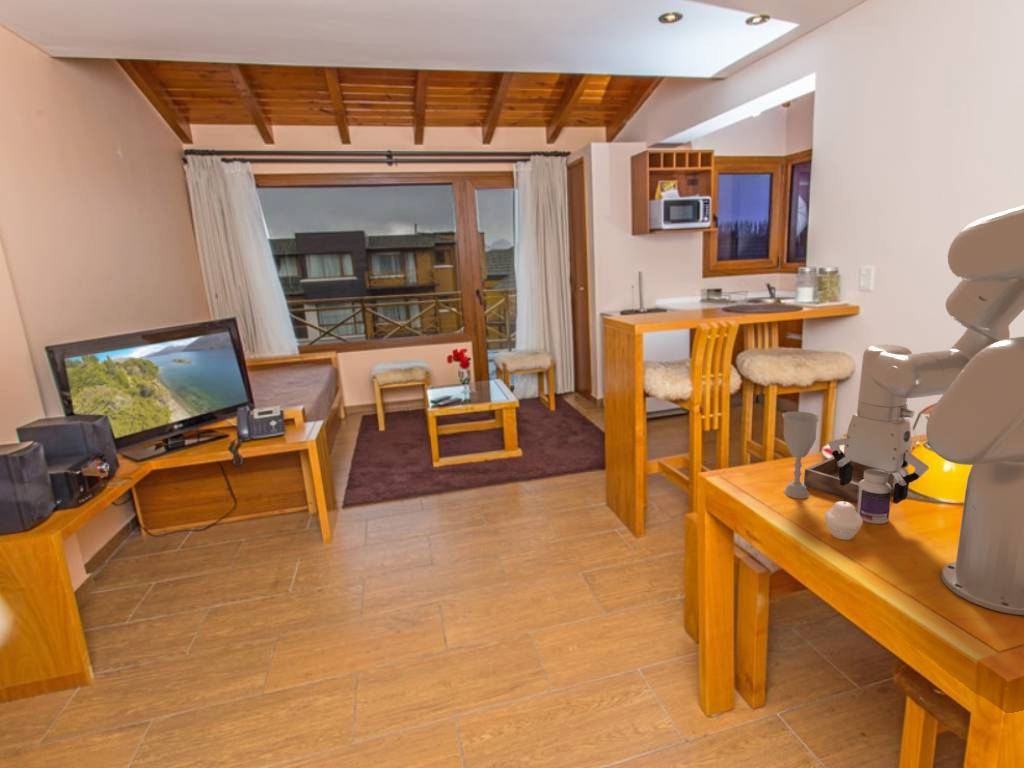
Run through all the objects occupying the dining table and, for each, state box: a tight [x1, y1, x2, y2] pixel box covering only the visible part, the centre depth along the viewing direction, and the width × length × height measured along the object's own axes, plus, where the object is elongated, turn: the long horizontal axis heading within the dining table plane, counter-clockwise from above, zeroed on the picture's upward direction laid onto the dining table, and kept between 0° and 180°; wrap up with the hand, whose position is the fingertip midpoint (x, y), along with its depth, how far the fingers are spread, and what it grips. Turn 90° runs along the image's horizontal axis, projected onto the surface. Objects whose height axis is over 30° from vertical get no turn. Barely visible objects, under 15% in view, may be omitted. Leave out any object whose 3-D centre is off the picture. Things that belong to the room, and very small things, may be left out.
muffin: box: [824, 501, 864, 541], centre depth 100 cm, size 6×6×7 cm
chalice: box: [781, 411, 821, 499], centre depth 116 cm, size 7×7×18 cm
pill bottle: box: [855, 469, 892, 525], centre depth 105 cm, size 5×5×10 cm
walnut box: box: [803, 456, 895, 504], centre depth 119 cm, size 13×13×4 cm
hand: (870, 492), depth 106 cm, fingers open, 9 cm apart
